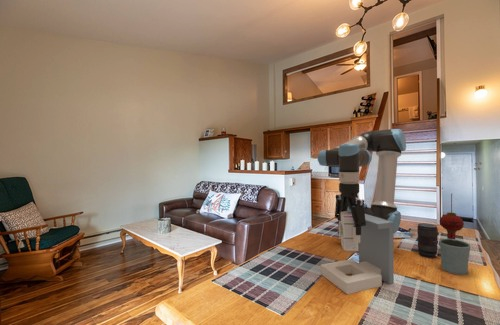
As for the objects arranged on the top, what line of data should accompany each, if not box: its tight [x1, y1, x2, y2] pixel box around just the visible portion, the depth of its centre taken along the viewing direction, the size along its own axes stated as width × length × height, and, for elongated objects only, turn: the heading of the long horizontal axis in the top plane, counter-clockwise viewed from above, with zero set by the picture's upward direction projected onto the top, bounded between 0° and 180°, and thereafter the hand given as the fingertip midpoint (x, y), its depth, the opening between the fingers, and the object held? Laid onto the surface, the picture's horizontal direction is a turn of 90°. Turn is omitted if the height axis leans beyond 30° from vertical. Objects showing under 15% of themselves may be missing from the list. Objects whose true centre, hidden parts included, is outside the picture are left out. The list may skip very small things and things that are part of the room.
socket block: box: [320, 214, 395, 295], centre depth 98 cm, size 16×22×24 cm
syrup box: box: [340, 211, 359, 252], centre depth 97 cm, size 6×6×14 cm
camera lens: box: [416, 222, 439, 259], centre depth 119 cm, size 8×8×15 cm
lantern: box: [439, 193, 464, 240], centre depth 121 cm, size 10×10×30 cm
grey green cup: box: [438, 238, 471, 276], centre depth 103 cm, size 10×10×12 cm
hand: (349, 239), depth 97 cm, fingers closed on syrup box, 7 cm apart
